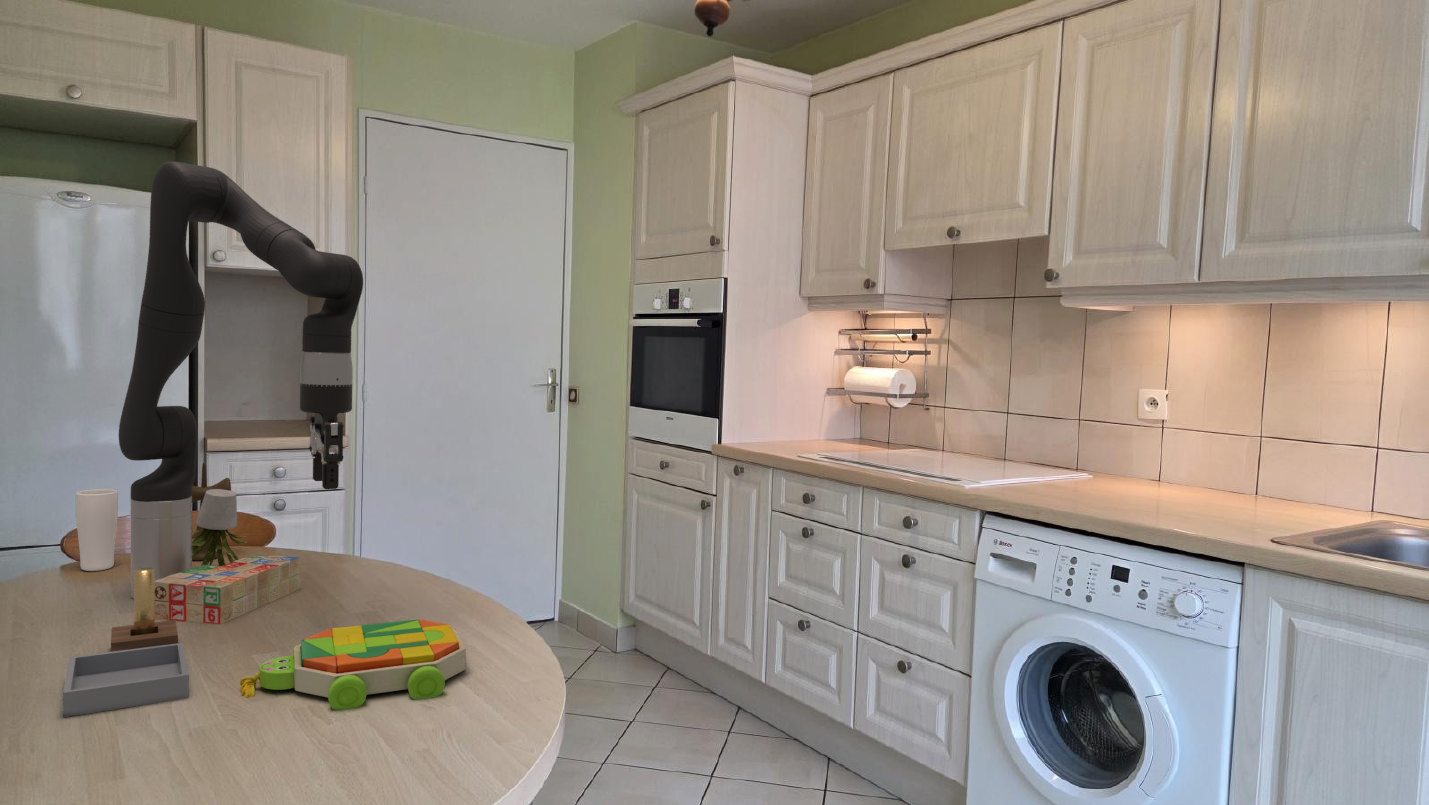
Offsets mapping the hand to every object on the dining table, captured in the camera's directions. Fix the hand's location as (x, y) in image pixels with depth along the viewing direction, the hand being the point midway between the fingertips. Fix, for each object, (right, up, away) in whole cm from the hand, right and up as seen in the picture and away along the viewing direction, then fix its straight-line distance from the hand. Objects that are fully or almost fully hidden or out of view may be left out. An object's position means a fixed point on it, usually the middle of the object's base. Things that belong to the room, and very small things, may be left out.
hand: (325, 484), depth 142 cm
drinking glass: (-58, -19, +33) cm, 70 cm away
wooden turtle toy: (+12, -26, -19) cm, 34 cm away
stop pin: (-22, -23, -11) cm, 34 cm away
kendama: (-43, -19, +43) cm, 64 cm away
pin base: (-22, -23, -11) cm, 33 cm away
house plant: (-32, -4, +30) cm, 44 cm away
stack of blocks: (-16, -19, +12) cm, 27 cm away
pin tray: (-15, -24, -24) cm, 38 cm away
